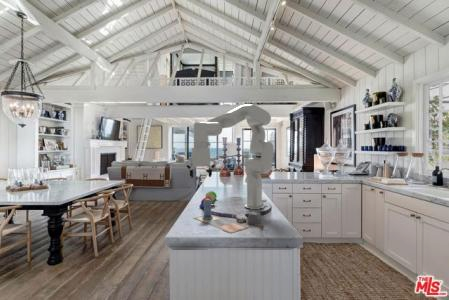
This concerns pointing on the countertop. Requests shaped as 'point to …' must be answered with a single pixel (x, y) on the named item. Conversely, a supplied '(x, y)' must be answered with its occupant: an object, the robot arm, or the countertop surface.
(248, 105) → the robot arm
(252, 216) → the die
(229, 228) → the board
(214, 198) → the toy
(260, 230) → the countertop surface
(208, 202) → the pawn
